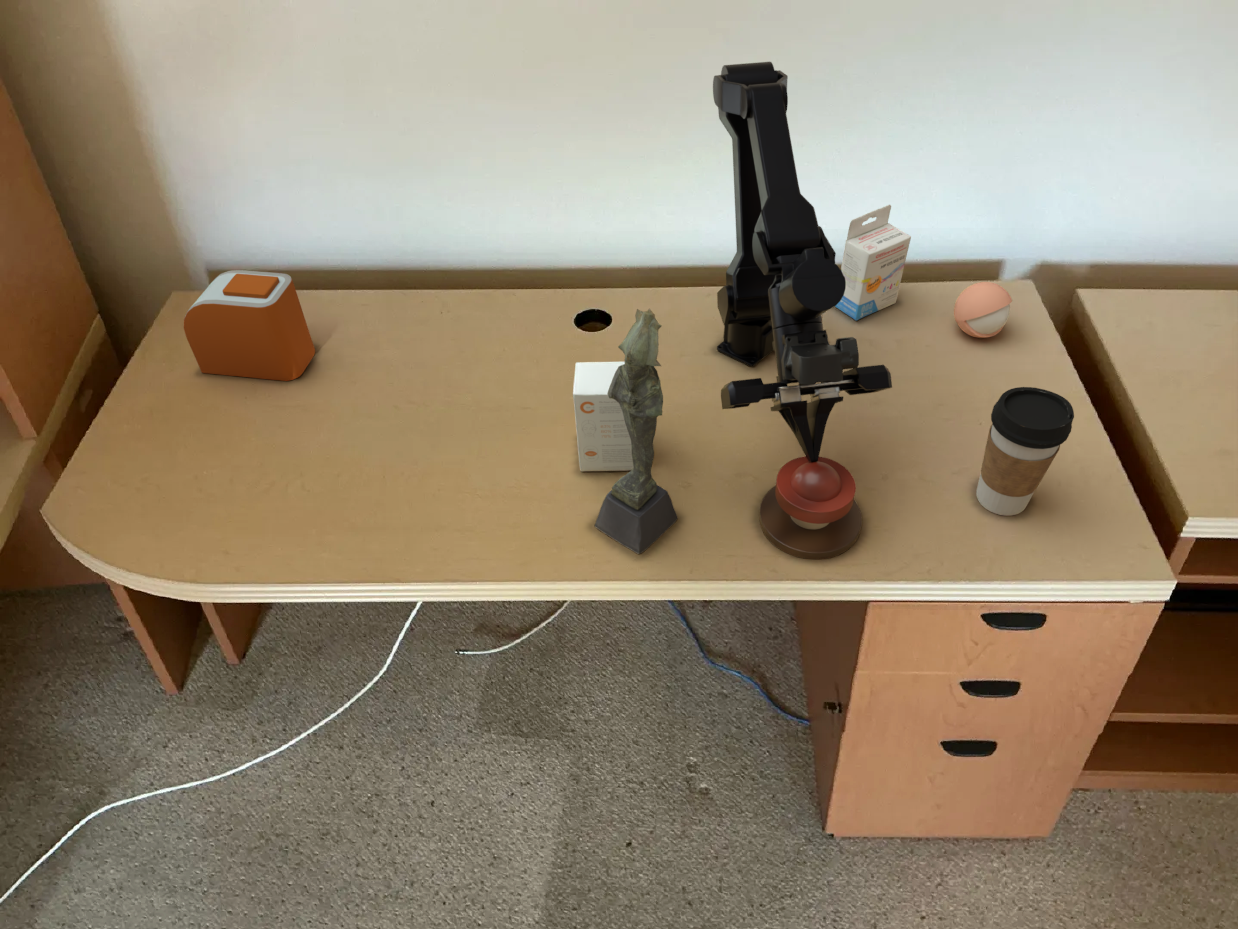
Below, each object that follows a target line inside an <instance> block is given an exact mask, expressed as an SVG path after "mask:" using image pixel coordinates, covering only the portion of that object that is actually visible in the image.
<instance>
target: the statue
mask: <svg viewBox="0 0 1238 929" xmlns="http://www.w3.org/2000/svg"><path fill="white" fill-rule="evenodd" d="M634 317H635V322H634V323H633V325H632V326H631V327H630V329H629V331H628V333H627V334H626V336H625V338H624V339H623V341H622V342H621V343H620V344H619V345H618V346H617V348H618V349H620V351H621V352H622V353H623V354H624V361H625V364H624V365H621V366H619V367H618V368H617V370H616V372H615V374H614V377H613V379H612V382H611V384H610V387H609V390H608V393H607V394H608V396H609V398H612V399H614V400H616V401H617V402H618V403H619V404H620V407H621V409H622V412H623V416H624V420H625V424H626V427H627V430H628V433H629V436H630V439H631V445H632V459H633V469H632V470H629V472H627V473H625V475H623V476H621V477H620V478H619V479H618V480H616V482H615V483H614V484H613V485H612V487H611V490H610V491H609V492H608V493H607V494H606V495H605V497H604V499H603V501H602V503H601V506H600V509H599V512H598V515H597V518H596V520H595V523H594V527H595V528H596V529H597V530H599V531H600V532H602V534H605V535H606V536H608V537H609V538H611V539H612V540H614V541H616V542H618V543H619V544H620V545H622V546H623V547H625V548H627V549H628V550H631V551H632V552H634V553H635V554H637V555H641V554H642V553H644V552H645V551H646V550H647V549H649V548H650V547H651V546H652V544H654V543H655V542H656V541H657V540H658V539H660V537H661V536H663V535H664V533H665V532H667V531H668V530H669V529H670V528H671V527H672V526H673V525H674V524H675V523H676V521H677V520H678V518H679V517H678V515H677V511H676V509H675V507H674V504H673V501H672V499H671V497H670V494H669V491H668V490H666V489H664V487H662V486H660V485H658V484H657V481H656V479H654V478H653V476H652V466H653V462H654V458H655V449H654V439H655V435H656V431H657V423H658V417H660V416H663V405H664V393H663V390H662V385H661V378H660V376H659V373H658V370H657V368H656V367H662V364H661V363H660V362H659V361H658V355H659V330H660V328H662V325H661V324H660V323H659V322H658V319H656V314H655V313H654V312H653V311H652V310H651V309H650V308H648V309H647V310H646V311H643V310H641V309H638V308H637V309H636V311H635V316H634Z"/></svg>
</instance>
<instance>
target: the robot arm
mask: <svg viewBox="0 0 1238 929" xmlns="http://www.w3.org/2000/svg"><path fill="white" fill-rule="evenodd" d="M712 96H713V102H714V104H715V106H716V107H717V111H718V120H719V121H720V122H721V124H722V126H723V127H724V129H726V131H727V134H728V135H729V136H730V138H731V144H732V167H733V191H734V194H733V195H734V216H735V217H734V218H735V240H736V253H734V254H735V255H734V256H733V258H732V260H731V262H730V263H729V266H728V267H727V269H726V271H725V285H723V286H722V287H721V288H720V289H719V291H717V293H716V296H717V297H716V298H717V299H716V300H717V309H718V312H719V315H720V319H721V321H722V324H723V340H722V341H721V342H720V343H719V344H718V345H717V346H716V351H717V352H719V353H721V354H723V355H725V356H727V357H729V358H731V359H734V360H736V361H738V362H739V363H742V364H744V365H745V366H748V367H755V366H756V365H757V364H758V363H760V361H762V360H764V359H765V358H766V357H767V356H768V355H770V354H771V353H772V352H773V351H774V356H775V363H776V371H777V372H776V373H777V375H776V376H775V378H776V382H770V383H764V382H763V379H762V378H761V377H758V378H757V377H756V378H749V379H739V380H732V381H730V382H728V383H726V384H725V385H724V386H723V387H722V388H721V389H720V400H721V409H722V410H730V409H737V408H738V409H740V408H746V407H747V408H749V407H750V405H751V404H757V403H759V402H760V401H762V400H764V401H765V400H771V402H773V406H771V407H770V412H778V413H779V414H780V416H781V417H782V418H783V420H784V421H785V423H786V424H787V425H788V427H789V429H790V430H791V432H792V434H793V435H794V437H795V439H796V441H797V443H798V444H799V446H800V449H801V450H802V452H803V454H804V456H806V458H807V459H808V461H809V462H817V461H818V458H819V457H820V453H821V448H822V444H823V439H824V435H825V430H826V426H827V423H828V420H829V416H830V414H831V412H832V410H833V409H834V407H835V406H836V404H839V403H842V402H844V396H840V393H841V392H845V393H847V395H849V396H854V395H865V394H872V393H879V392H882V391H885V390H889V389H892V388H893V380H892V373H891V372H890V370H889V368H887V366H886V365H885V364H877V365H867V366H860V354H859V353H860V352H859V347H858V340H857V338H855V337H853V336H850V337H840V338H836V339H835V343H834V344H830V342H829V337H828V333H827V329H824V325H823V324H824V323H823V317H822V315H823V314H825V313H827V312H828V311H830V310H831V309H832V308H835V306H836V305H837V304H838V303H839V302H840V301H841V299H842V297H843V295H844V292H845V288H846V281H845V277H844V276H843V273H842V271H841V267H839V266H838V265H837V264H836V256H837V255H836V250H835V249H834V248H833V246H832V244H831V243H830V241H829V240H828V237H827V236H826V234H825V233H824V229H823V228H822V226H821V225H819V222H818V219H817V214H816V210H815V207H814V205H813V204H812V203H810V202H809V200H808V199H806V198H805V197H804V195H802V193H801V190H800V185H799V179H798V173H797V168H796V162H795V156H794V152H793V151H794V150H793V146H792V139H791V133H790V128H789V122H788V116H787V112H788V104H789V98H788V97H789V96H788V75H787V74H786V73H785V72H783V71H782V70H776V69H775V66H774V63H773V62H772V61H761V62H749V63H748V62H746V63H735V64H723V66H722V68H721V72H720V74H718V75H714V76H713V80H712ZM844 370H846V371H844ZM789 384H795V385H789ZM808 395H809V397H810V401H809V402H808V400H802V396H808Z"/></svg>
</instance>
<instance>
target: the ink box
mask: <svg viewBox="0 0 1238 929" xmlns="http://www.w3.org/2000/svg"><path fill="white" fill-rule="evenodd" d="M891 210H892V205H891V204H887V205H885V206H883V207H880V208H877V209H874V210H872V211H870V212H867V213H865V214H862V215H860V216H858V217H855V218H853V219H851V220H850V221H849V222H850V223H849V226H848V231H847V236H846V239H845V243H844V250H843V255H842V261H841V267H840V270H841V271H842V273H843V276H844V277H845V281H846V288H845V292H844V295H843V297H842V299H841V301H840V302H839V303H838V304H837V305H836V306H834V308H837V309H838V310H840V312H843V313H844V314H846V315H847V316H848V317H850V318H851V319H853V320H854V321H859V320H861V319H863V318H865V317H867V316H870V315H871V314H874V313H877V312H879V311H881V310H883V309H886V308H888V307H890V306H893V305H894V304H896V303H897V300H898V295H899V291H900V287H901V282H902V277H903V274H904V269H905V264H906V261H907V256H908V251H909V248H910V243H911V239H912V236H911V235H909V234H908V233H906V232H904V231H903V230H901V229H899V228H898V227H896V226H894V225H893V224H892V223H890V222H889V219H890V215H891ZM870 218H871V219H874V218H875V220H873V221H870V222H867V221H868V220H869V219H870ZM866 222H867V223H866ZM863 223H865V224H863Z"/></svg>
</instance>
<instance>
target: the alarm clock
mask: <svg viewBox="0 0 1238 929" xmlns="http://www.w3.org/2000/svg"><path fill="white" fill-rule="evenodd" d="M183 331H184V334H185V337H186V340H187V342H188V344H189V347H190V349H191V351H192V353H193V356H194V359H195V361H196V363H197V365H198V367H199V369H200V372H201V373H202V374H210V375H211V374H212V375H220V376H232V377H240V378H241V377H242V378H250V379H251V378H252V379H261V380H273V381H282V382H289V381H293V380H295V379H297V378H299V377H301V376H302V374H303V373H305V370H306V368H307V367H308V366H309V364H310V362H311V361H312V359H313V358H314V356H315V354H316V349H315V348H316V347H315V345H314V343H313V340H312V335H311V333H310V329H309V328H308V324H307V321H306V318H305V315H304V311H303V308H302V305H301V302H300V299H299V296H298V293H297V289H296V286H295V283H294V280H293V278H292V276H290V275H289V274H287V273H281V272H269V271H259V270H258V271H257V270H245V269H233V270H228V271H225V272H221V273H220V274H219V275H217V276H216V277H215V278H214V279H213V280H212V281H211V282H210V284H209V285H208V286H207V287H206V288H205V290H204V291H203V292H202V293H201V294H200V296H199V297H198V298H197V299H196V300H195V302H194V303H193V304H192V305H191V306H190V307H189V309H188V310H187V311H186V313H185V316H184V318H183Z"/></svg>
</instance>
